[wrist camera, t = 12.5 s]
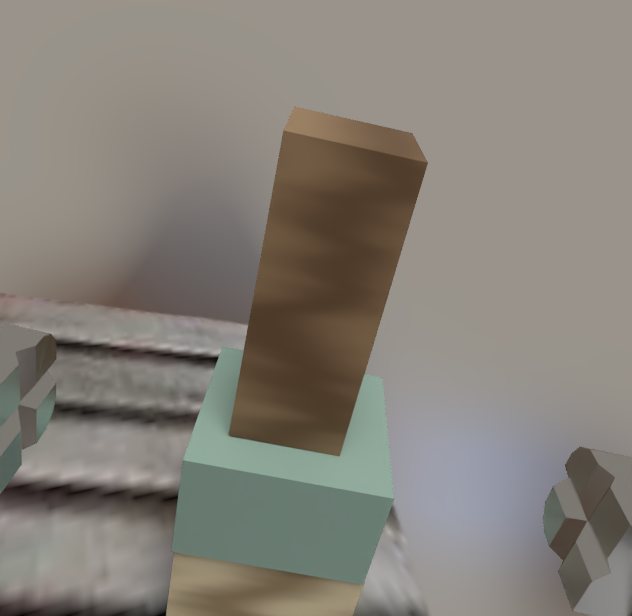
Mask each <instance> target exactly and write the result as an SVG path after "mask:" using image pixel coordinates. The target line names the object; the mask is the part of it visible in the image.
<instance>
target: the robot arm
mask: <svg viewBox="0 0 632 616" xmlns="http://www.w3.org/2000/svg"><path fill="white" fill-rule="evenodd" d="M55 360H56V340H55V338H54V337H53V336H52V335H51V334H49V333H45V332H40V331H36V330H32V329H28V328H23V327H19V326H15V325H10V324H6V323H2V322H0V494H1V493H2V491H3V490H4V488H5V487H6V486H7V484H8V483H9V481H10V480H11V478H12V477H13V476H14V474H15V473H16V471H17V470H18V469H19V467H20V466H21V450H22V449H25V448H27V447H29V446H31V445H33V444H35V443H37V442H38V440H39V439H40V437H41V436H42V434H43V433H44V431H45V430H46V427H47V425H48V422H49V420H50V417H51V415H52V412H53V408H54V403H55V398H56V382H55V381H54V379H53V378H52V376H51V375H50V374H49V372H48V371H47V370H48V369H49V367H50V366H51V365H52V364H53V362H54V361H55ZM565 467H566V471H567V474H568V478H567V479H565V480H563V481H561V482H560V483H558V484H556V485H554V486H553V488H552V490H551V492H550V493H549V495H548V497H547V500H546V501H545V508H544V515H543V524H544V533H545V535H546V539H547V542H548V545H549V546H550V548H551V549H552V550H553V551H554V552H555V553H556V554H557V555H558V556H559V557H560V558H561V559H562V560H563V562H562V564H561V566H560V568H559V570H558V573H559V575H560V578H561V581H562V584H563V586H564V589H565V592H566V595H567V598H568V600H569V603H570V606H571V608H572V611H574V612H579V613H583V614H587V615H592V616H632V457H629V456H624V455H619V454H614V453H609V452H604V451H599V450H594V449H589V448H584V447H579V448H578V449H577V450H575V451H574V452H573V453H572V454H571V456H570V457H569V459H568V461H567V463H566V464H565Z"/></svg>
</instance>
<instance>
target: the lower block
mask: <svg viewBox="0 0 632 616" xmlns="http://www.w3.org/2000/svg"><path fill="white" fill-rule="evenodd" d="M364 583H365V580H364ZM364 583H363V585H361V584H355V583H350V582H344V581H338V580H332V579H327V578H321V577H315V576H309V575H304V574H298V573H292V572H286V571H281V570H275V569H269V568H263V567H258V566H252V565H246V564H240V563H235V562H229V561H223V560H217V559H212V558H206V557H200V556H194V555H189V554H183V553H177V552H174V556H173V564H172V572H171V580H170V588H169V596H168V603H167V611H166V616H353V613H354V610H355V608H356V605H357V602H358V599H359V597H360V594H361V591H362V588H363V586H364Z"/></svg>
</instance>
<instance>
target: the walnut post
mask: <svg viewBox="0 0 632 616" xmlns="http://www.w3.org/2000/svg"><path fill="white" fill-rule="evenodd" d="M427 164H428V162H427V160H426V158H425V157H424V155H423V153H422V151H421V149H420V147H419V145H418V143H417V142H416V139H415V137H414V136H413V134H412V133H409V132H404V131H400V130H395V129H391V128H387V127H382V126H378V125H373V124H369V123H364V122H360V121H356V120H351V119H346V118H342V117H338V116H333V115H328V114H324V113H320V112H315V111H311V110H307V109H303V108H298V107H294V108H293V111H292V113H291V115H290V117H289V119H288V122H287V124H286V126H285V128H284V131H283V136H282V142H281V148H280V153H279V159H278V165H277V170H276V175H275V181H274V186H273V192H272V198H271V203H270V208H269V215H268V220H267V225H266V231H265V236H264V242H263V247H262V253H261V258H260V264H259V269H258V275H257V280H256V286H255V291H254V297H253V303H252V308H251V313H250V320H249V324H248V330H247V336H246V341H245V347H244V352H243V358H242V363H241V369H240V374H239V380H238V385H237V391H236V396H235V402H234V407H233V413H232V418H231V424H230V430H229V435H230V436H235V437H240V438H245V439H251V440H256V441H261V442H266V443H272V444H277V445H282V446H288V447H293V448H298V449H303V450H309V451H314V452H319V453H324V454H330V455H335V456H340V454H341V451H342V447H343V444H344V441H345V437H346V434H347V431H348V427H349V424H350V421H351V417H352V414H353V410H354V407H355V404H356V400H357V397H358V394H359V390H360V387H361V384H362V380H363V377H364V374H365V370H366V367H367V364H368V360H369V357H370V354H371V350H372V347H373V344H374V340H375V337H376V334H377V330H378V327H379V324H380V320H381V317H382V314H383V310H384V307H385V304H386V300H387V297H388V294H389V290H390V287H391V284H392V280H393V277H394V274H395V270H396V267H397V263H398V260H399V257H400V254H401V250H402V247H403V244H404V240H405V237H406V234H407V230H408V227H409V224H410V220H411V217H412V213H413V210H414V207H415V204H416V200H417V197H418V194H419V190H420V187H421V184H422V180H423V177H424V174H425V170H426V167H427Z"/></svg>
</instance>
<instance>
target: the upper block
mask: <svg viewBox="0 0 632 616" xmlns="http://www.w3.org/2000/svg"><path fill="white" fill-rule="evenodd" d="M243 352H244V351H243V350H238V349H233V348H228V347H222V349H221V352H220V355H219V358H218V361H217V364H216V367H215V370H214V372H213V375H212V378H211V381H210V384H209V387H208V390H207V392H206V395H205V398H204V401H203V404H202V407H201V410H200V412H199V415H198V418H197V421H196V424H195V427H194V430H193V433H192V435H191V438H190V441H189V444H188V447H187V450H186V453H185V455H184V458H183V463H182V471H181V479H180V487H179V495H178V503H177V511H176V519H175V527H174V535H173V542H172V550H171V552H177V553H183V554H189V555H194V556H200V557H206V558H212V559H217V560H223V561H229V562H235V563H240V564H246V565H252V566H258V567H263V568H269V569H275V570H281V571H286V572H292V573H298V574H304V575H309V576H315V577H321V578H327V579H332V580H338V581H344V582H350V583H355V584H361V585H363V583H364V580H365V578H366V575H367V572H368V569H369V567H370V564H371V561H372V558H373V556H374V553H375V550H376V547H377V545H378V542H379V539H380V536H381V534H382V531H383V528H384V525H385V523H386V520H387V517H388V514H389V512H390V509H391V506H392V503H393V501H394V493H393V482H392V472H391V461H390V451H389V441H388V431H387V421H386V412H385V411H386V410H385V400H384V391H383V380H382V377H377V376H372V375H367V374H364V377H363V380H362V384H361V387H360V390H359V394H358V397H357V400H356V404H355V407H354V410H353V414H352V417H351V421H350V424H349V427H348V431H347V434H346V437H345V441H344V444H343V447H342V451H341V454H340V456H335V455H330V454H324V453H319V452H314V451H309V450H303V449H298V448H293V447H288V446H282V445H277V444H272V443H266V442H261V441H256V440H251V439H245V438H240V437H235V436H230V435H229V430H230V424H231V418H232V413H233V407H234V402H235V396H236V391H237V385H238V380H239V374H240V369H241V363H242V358H243Z"/></svg>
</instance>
